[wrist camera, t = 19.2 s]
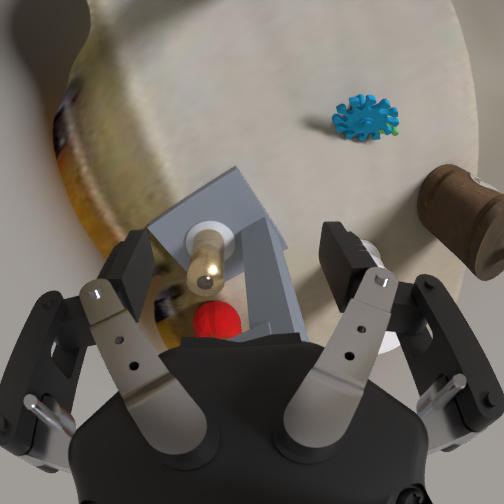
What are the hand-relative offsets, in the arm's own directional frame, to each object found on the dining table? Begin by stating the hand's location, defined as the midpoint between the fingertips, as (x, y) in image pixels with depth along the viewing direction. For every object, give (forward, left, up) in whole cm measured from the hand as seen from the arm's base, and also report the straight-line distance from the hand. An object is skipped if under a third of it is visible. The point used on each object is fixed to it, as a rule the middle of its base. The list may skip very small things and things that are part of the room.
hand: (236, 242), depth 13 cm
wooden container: (+29, +31, -31) cm, 53 cm away
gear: (+7, +19, -31) cm, 37 cm away
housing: (+12, -12, -28) cm, 33 cm away
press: (+17, -10, -31) cm, 36 cm away
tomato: (+27, -21, -31) cm, 46 cm away
